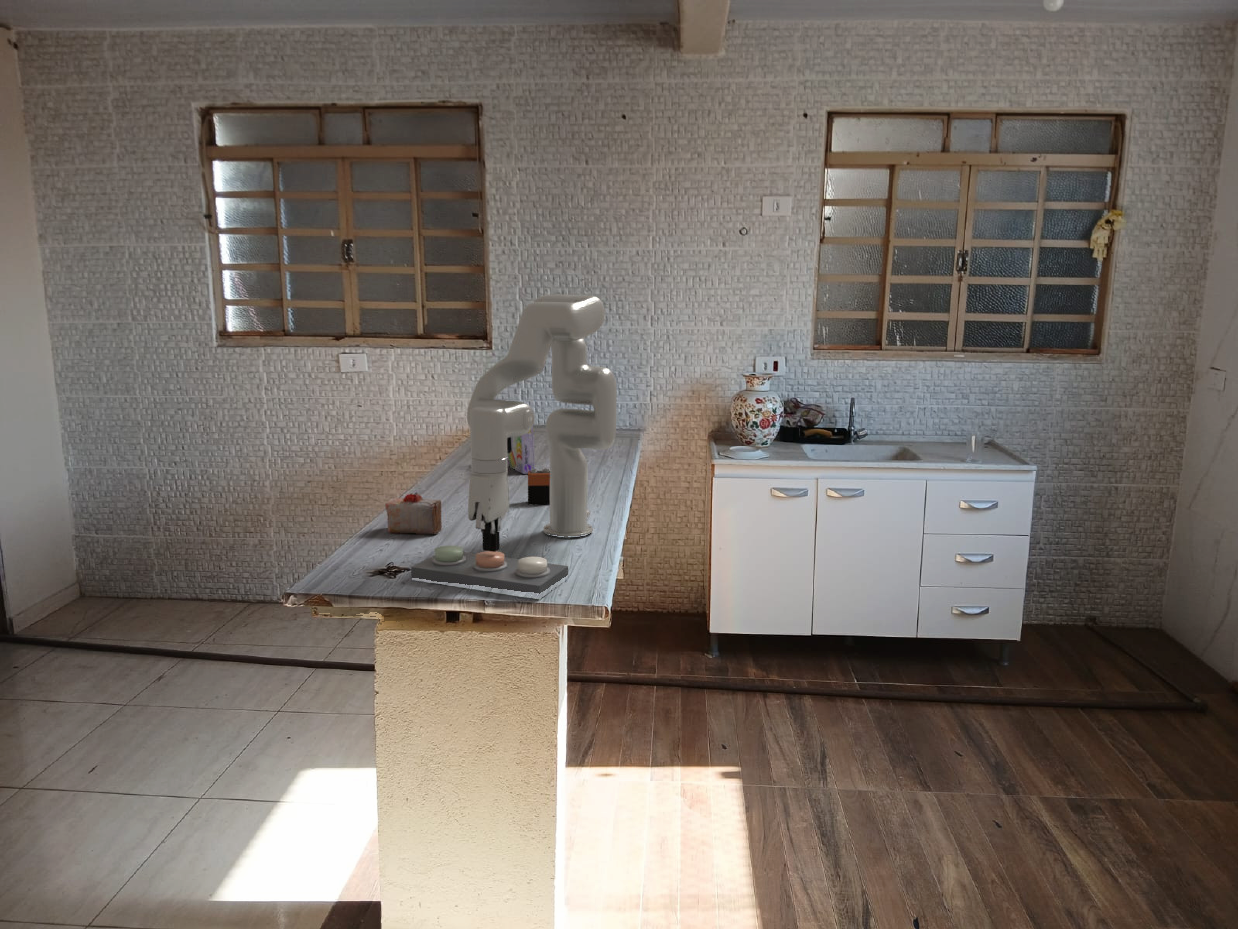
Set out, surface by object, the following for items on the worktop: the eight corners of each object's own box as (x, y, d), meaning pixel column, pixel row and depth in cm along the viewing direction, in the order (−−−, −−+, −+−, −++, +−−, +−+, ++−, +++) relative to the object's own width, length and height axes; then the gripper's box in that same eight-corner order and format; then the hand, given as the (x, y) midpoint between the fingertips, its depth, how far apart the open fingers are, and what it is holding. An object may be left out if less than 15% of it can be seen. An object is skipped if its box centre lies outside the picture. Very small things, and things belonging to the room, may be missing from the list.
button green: (444, 552, 197) (444, 544, 197) (468, 555, 195) (468, 547, 195) (429, 559, 192) (429, 551, 191) (453, 563, 190) (453, 555, 189)
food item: (382, 534, 224) (380, 496, 222) (394, 526, 232) (392, 489, 230) (435, 537, 222) (434, 498, 220) (445, 528, 230) (444, 491, 228)
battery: (552, 504, 257) (552, 470, 255) (528, 505, 256) (528, 470, 254) (551, 501, 261) (551, 467, 259) (527, 501, 260) (527, 467, 258)
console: (446, 562, 202) (446, 547, 202) (568, 579, 192) (568, 563, 191) (411, 580, 190) (410, 564, 189) (539, 600, 179) (539, 583, 179)
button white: (526, 563, 190) (526, 555, 190) (551, 567, 188) (551, 558, 188) (513, 571, 185) (513, 563, 185) (539, 575, 183) (539, 567, 182)
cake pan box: (503, 464, 312) (502, 414, 308) (517, 463, 314) (516, 413, 310) (521, 475, 295) (520, 422, 291) (535, 474, 297) (535, 421, 293)
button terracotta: (484, 557, 194) (484, 549, 193) (509, 561, 192) (509, 553, 191) (470, 565, 188) (470, 557, 188) (495, 569, 186) (495, 560, 186)
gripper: (490, 457, 194) (492, 538, 198) (454, 471, 180) (457, 558, 184) (521, 460, 192) (523, 542, 196) (487, 474, 178) (489, 562, 182)
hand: (491, 549), depth 190 cm, fingers closed
